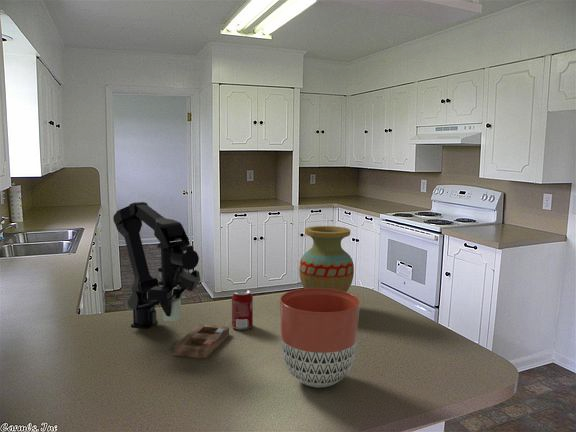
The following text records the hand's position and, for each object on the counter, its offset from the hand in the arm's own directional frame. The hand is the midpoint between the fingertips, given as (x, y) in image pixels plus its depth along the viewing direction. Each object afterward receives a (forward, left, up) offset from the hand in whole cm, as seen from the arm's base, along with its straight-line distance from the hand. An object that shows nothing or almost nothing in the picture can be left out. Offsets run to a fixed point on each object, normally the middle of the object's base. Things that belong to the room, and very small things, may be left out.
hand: (171, 313), depth 140 cm
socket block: (+11, -2, -8) cm, 13 cm away
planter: (+48, -16, -8) cm, 51 cm away
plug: (0, 0, -2) cm, 2 cm away
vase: (+42, +38, -8) cm, 57 cm away
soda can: (+18, +14, -8) cm, 24 cm away
